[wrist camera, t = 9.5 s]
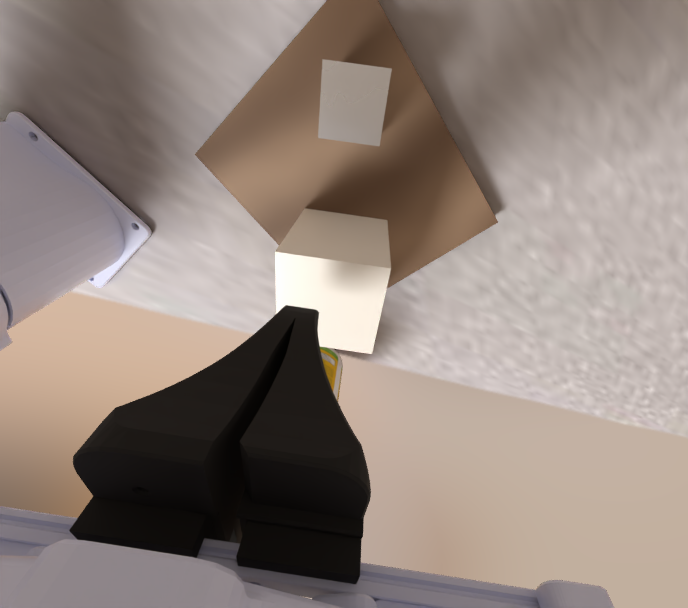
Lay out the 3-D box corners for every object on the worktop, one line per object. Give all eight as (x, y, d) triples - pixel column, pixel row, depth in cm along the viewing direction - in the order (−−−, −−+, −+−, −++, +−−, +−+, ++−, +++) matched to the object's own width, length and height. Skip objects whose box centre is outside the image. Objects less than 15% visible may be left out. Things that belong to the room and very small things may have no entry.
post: (331, 129, 17) (318, 138, 13) (336, 69, 15) (322, 59, 11) (379, 135, 17) (379, 146, 13) (388, 76, 15) (392, 68, 11)
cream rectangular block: (301, 280, 22) (276, 339, 17) (304, 208, 19) (275, 251, 14) (373, 290, 22) (371, 354, 16) (387, 220, 19) (391, 268, 14)
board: (203, 152, 19) (194, 154, 18) (359, -28, 14) (358, -36, 13) (344, 307, 24) (343, 314, 23) (492, 216, 19) (497, 222, 18)
